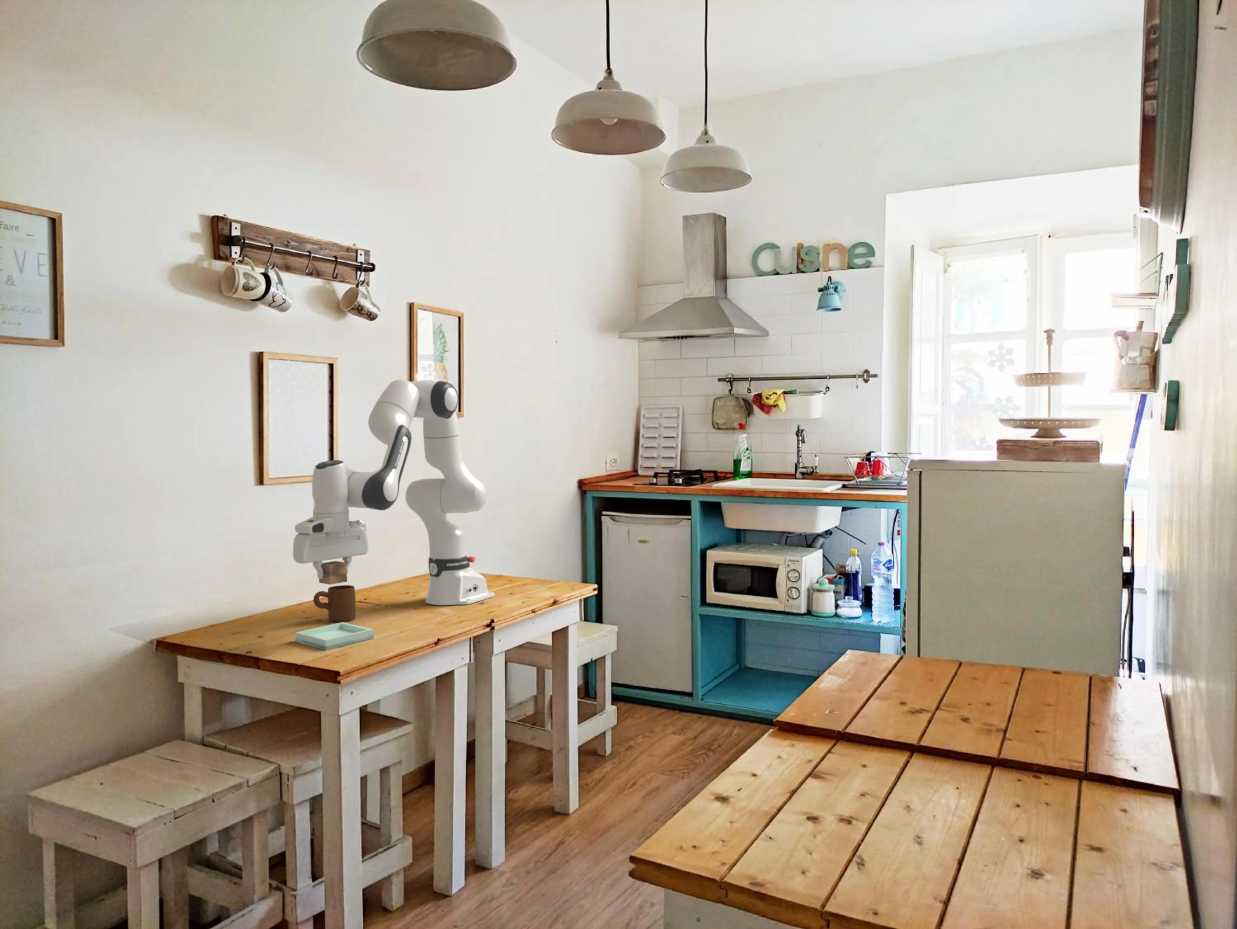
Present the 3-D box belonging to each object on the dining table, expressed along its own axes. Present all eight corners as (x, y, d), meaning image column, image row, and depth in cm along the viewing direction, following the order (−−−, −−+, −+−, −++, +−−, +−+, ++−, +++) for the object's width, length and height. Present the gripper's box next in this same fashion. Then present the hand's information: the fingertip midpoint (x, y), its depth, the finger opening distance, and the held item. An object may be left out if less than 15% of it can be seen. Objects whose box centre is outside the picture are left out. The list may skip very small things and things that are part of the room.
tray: (342, 631, 234) (342, 622, 234) (373, 638, 225) (373, 629, 225) (295, 642, 223) (295, 632, 223) (326, 650, 214) (325, 640, 214)
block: (336, 579, 227) (335, 560, 227) (347, 581, 224) (346, 562, 223) (319, 582, 223) (318, 563, 223) (330, 584, 220) (329, 565, 219)
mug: (319, 626, 240) (318, 593, 239) (309, 622, 245) (308, 589, 245) (360, 619, 248) (359, 587, 247) (349, 615, 253) (348, 583, 253)
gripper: (358, 518, 233) (360, 569, 233) (288, 526, 217) (290, 580, 217) (372, 520, 229) (374, 571, 229) (302, 528, 213) (304, 583, 213)
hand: (332, 576), depth 223 cm, fingers closed on block, 5 cm apart
